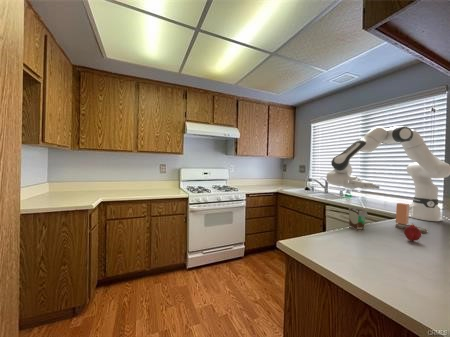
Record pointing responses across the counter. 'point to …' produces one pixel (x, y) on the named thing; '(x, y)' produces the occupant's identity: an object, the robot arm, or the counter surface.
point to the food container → (357, 218)
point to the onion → (412, 233)
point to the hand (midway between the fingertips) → (377, 187)
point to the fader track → (422, 230)
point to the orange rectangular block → (402, 213)
